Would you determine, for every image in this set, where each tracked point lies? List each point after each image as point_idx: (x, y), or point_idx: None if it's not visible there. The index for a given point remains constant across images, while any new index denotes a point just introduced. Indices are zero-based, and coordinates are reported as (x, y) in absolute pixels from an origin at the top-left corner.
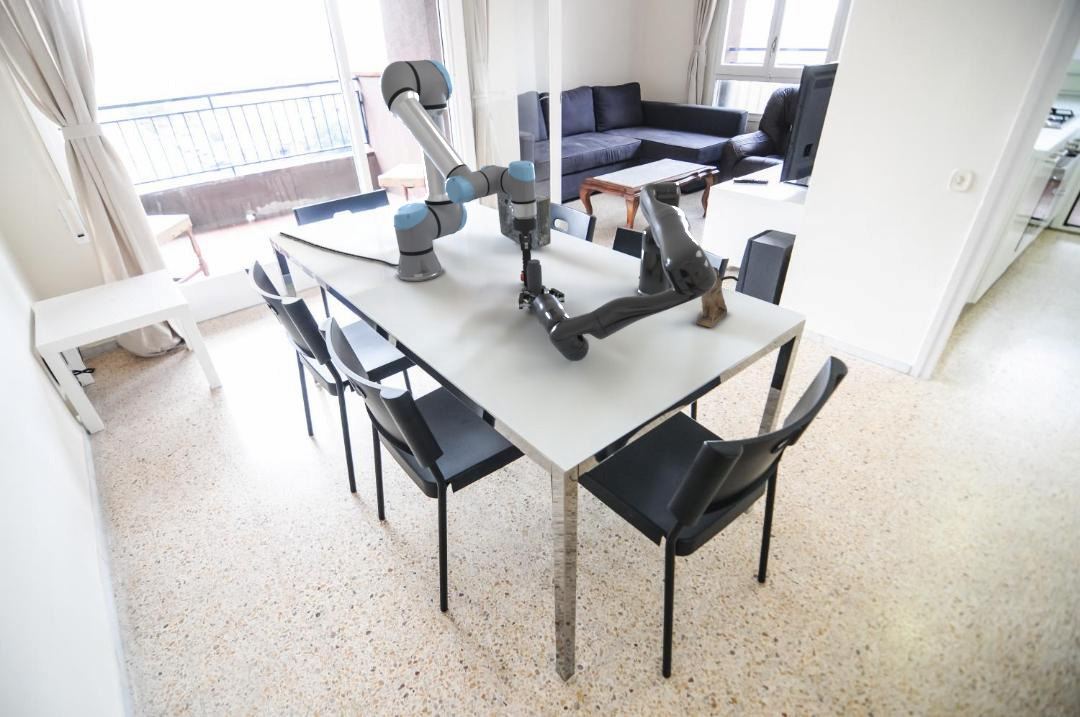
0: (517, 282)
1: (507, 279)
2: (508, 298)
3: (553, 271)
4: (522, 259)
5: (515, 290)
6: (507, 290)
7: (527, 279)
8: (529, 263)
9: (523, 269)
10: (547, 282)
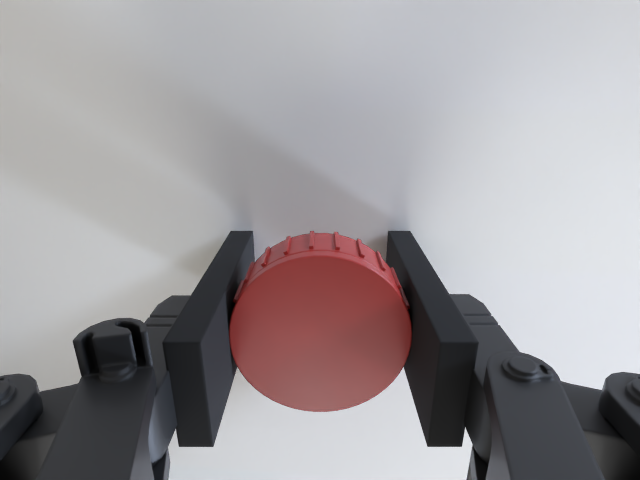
0: (466, 169)
1: (585, 57)
2: (66, 68)
3: None
4: (631, 386)
5: (265, 145)
6: (273, 56)
7: None
8: None
9: (426, 316)
10: (402, 409)
